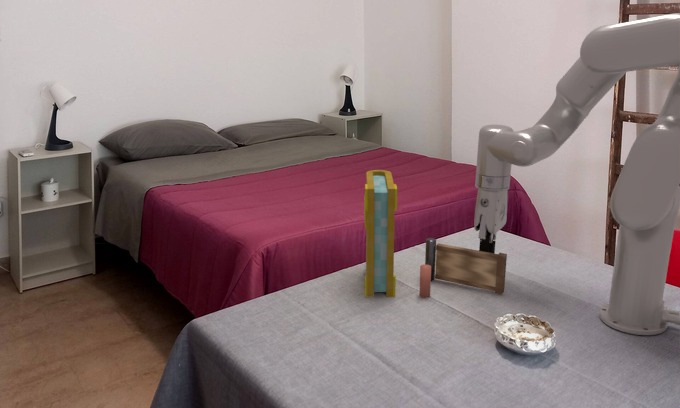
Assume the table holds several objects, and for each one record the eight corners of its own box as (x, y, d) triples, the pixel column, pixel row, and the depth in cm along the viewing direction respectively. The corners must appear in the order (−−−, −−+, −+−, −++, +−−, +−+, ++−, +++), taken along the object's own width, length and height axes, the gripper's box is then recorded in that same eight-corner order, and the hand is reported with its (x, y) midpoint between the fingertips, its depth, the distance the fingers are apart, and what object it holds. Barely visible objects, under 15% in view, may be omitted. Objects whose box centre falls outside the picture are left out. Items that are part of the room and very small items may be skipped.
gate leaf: (504, 292, 138) (506, 254, 136) (501, 294, 137) (504, 256, 134) (437, 277, 146) (438, 241, 143) (434, 280, 145) (436, 243, 142)
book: (395, 296, 137) (397, 188, 130) (365, 296, 138) (365, 188, 130) (390, 267, 154) (392, 169, 146) (363, 267, 154) (364, 169, 146)
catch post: (431, 294, 138) (432, 265, 136) (427, 298, 136) (428, 269, 134) (421, 292, 139) (422, 263, 137) (417, 296, 137) (418, 267, 135)
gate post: (436, 278, 147) (437, 239, 144) (432, 282, 145) (433, 242, 142) (427, 276, 148) (428, 237, 145) (422, 280, 146) (424, 240, 143)
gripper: (499, 191, 130) (492, 271, 136) (518, 175, 142) (511, 249, 148) (465, 186, 134) (459, 264, 139) (486, 171, 146) (481, 243, 152)
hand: (486, 256), depth 144 cm, fingers closed
